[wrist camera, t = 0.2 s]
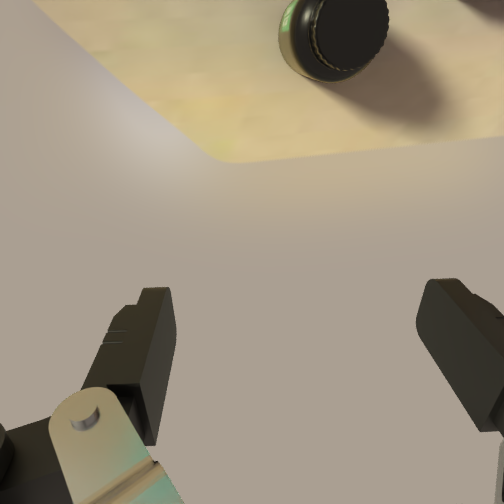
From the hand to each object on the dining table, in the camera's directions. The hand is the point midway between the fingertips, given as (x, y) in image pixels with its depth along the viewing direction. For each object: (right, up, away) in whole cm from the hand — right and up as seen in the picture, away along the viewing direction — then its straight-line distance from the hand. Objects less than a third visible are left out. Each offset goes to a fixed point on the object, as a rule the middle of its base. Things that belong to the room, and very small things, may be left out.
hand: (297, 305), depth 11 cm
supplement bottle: (+4, +22, +21) cm, 31 cm away
